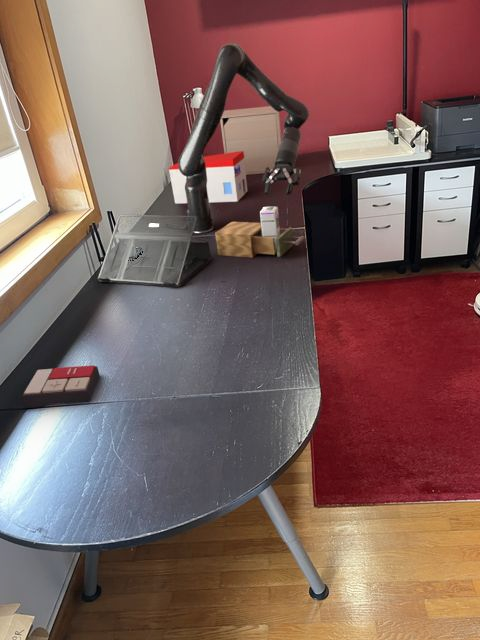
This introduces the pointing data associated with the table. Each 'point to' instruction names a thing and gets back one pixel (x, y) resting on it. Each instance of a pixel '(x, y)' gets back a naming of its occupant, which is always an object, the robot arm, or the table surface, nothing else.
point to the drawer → (267, 243)
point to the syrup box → (270, 222)
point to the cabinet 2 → (237, 239)
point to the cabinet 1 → (252, 136)
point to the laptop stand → (155, 253)
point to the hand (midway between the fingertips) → (277, 193)
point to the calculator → (61, 386)
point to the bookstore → (216, 178)
